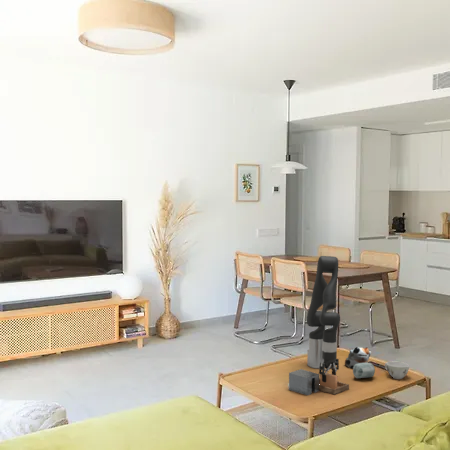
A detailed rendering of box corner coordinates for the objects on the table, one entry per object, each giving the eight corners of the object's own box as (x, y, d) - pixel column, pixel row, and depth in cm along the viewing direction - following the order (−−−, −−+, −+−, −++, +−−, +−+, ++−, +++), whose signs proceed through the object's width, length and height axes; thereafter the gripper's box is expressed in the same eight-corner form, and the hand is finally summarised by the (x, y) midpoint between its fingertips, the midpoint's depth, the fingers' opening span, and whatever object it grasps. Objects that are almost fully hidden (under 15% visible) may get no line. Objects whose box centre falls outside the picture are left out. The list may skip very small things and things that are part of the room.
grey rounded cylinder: (359, 379, 297) (364, 361, 299) (346, 374, 306) (352, 357, 307) (375, 384, 304) (380, 367, 305) (363, 379, 312) (368, 362, 314)
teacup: (413, 378, 307) (414, 364, 306) (399, 382, 300) (399, 368, 299) (391, 372, 319) (392, 358, 319) (377, 375, 312) (378, 361, 312)
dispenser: (288, 389, 286) (289, 372, 286) (300, 385, 293) (301, 369, 293) (307, 395, 277) (307, 378, 277) (319, 391, 284) (319, 374, 284)
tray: (309, 387, 290) (309, 382, 290) (324, 382, 299) (324, 377, 299) (334, 395, 278) (334, 390, 278) (348, 389, 287) (349, 384, 287)
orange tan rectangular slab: (319, 385, 292) (320, 372, 292) (321, 384, 293) (321, 371, 293) (335, 389, 285) (335, 376, 285) (337, 389, 286) (337, 375, 286)
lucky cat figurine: (365, 364, 334) (366, 342, 333) (373, 371, 322) (374, 348, 321) (342, 364, 332) (343, 342, 331) (349, 371, 320) (350, 348, 319)
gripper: (331, 346, 296) (331, 375, 296) (315, 350, 286) (315, 381, 286) (343, 348, 290) (342, 378, 291) (327, 353, 280) (326, 384, 281)
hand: (329, 380), depth 289 cm, fingers open, 8 cm apart
